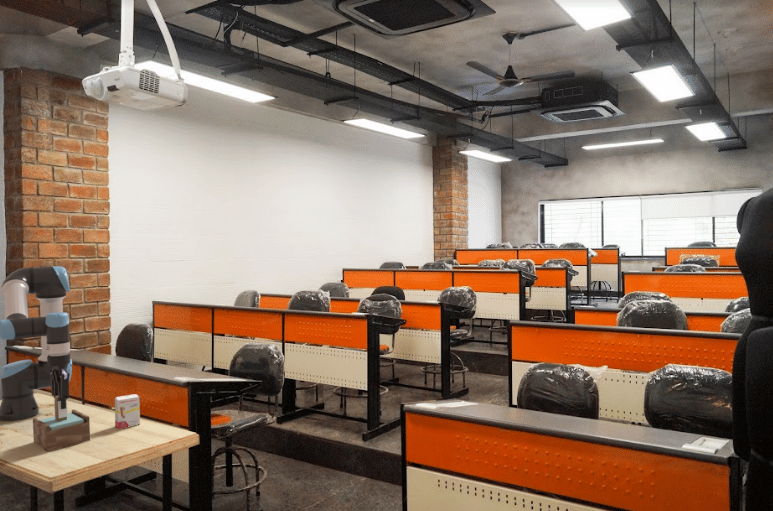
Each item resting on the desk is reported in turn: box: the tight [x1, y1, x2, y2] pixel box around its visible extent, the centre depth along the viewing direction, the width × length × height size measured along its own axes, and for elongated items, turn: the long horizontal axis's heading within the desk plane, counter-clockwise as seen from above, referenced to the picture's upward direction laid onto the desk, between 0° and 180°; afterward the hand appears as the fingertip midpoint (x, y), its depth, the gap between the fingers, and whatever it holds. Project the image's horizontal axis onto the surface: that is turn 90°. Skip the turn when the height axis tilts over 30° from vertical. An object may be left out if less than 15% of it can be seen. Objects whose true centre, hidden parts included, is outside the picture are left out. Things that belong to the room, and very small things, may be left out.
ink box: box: [114, 393, 141, 430], centre depth 231 cm, size 9×5×12 cm, turn 127°
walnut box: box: [32, 409, 91, 452], centre depth 214 cm, size 15×14×9 cm
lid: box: [39, 395, 84, 430], centre depth 214 cm, size 13×11×10 cm
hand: (61, 416), depth 214 cm, fingers closed on lid, 3 cm apart
